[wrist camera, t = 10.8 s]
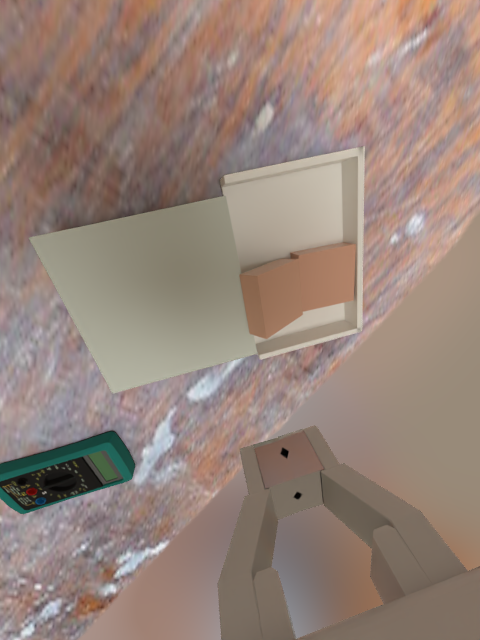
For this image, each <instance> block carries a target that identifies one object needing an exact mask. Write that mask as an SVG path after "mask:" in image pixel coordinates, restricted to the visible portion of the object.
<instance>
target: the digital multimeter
mask: <svg viewBox="0 0 480 640" xmlns="http://www.w3.org/2000/svg"><path fill="white" fill-rule="evenodd" d="M58 463H59V464H58ZM48 466H49V467H48ZM134 469H135V464H134V462H133V459H132V457H131V455H130V453H129V451H128V449H127V448H126V446H125V445H124V443H123V442H122V441H121V439H120V438H119V437H118V435H117V434H116V433H115V432H113V431H111V432H107V433H104V434H101V435H98V436H95V437H92V438H89V439H86V440H83V441H80V442H77V443H74V444H70V445H67V446H64V447H61V448H58V449H54V450H51V451H47V452H43V453H40V454H36V455H33V456H29V457H26V458H22V459H18V460H14V461H10V462H6V463H2V464H0V498H1V499H2V500H3V501H4V502H5V503H6V504H7V505H8V506H9V507H11V508H12V509H14V510H15V511H17V512H19V513H20V514H25V513H29V512H32V511H35V510H38V509H41V508H43V507H47V506H50V505H53V504H56V503H59V502H62V501H65V500H68V499H71V498H74V497H77V496H81V495H84V494H87V493H90V492H94V491H97V490H100V489H104V488H107V487H110V486H114V485H117V484H121V483H124V482H127V481H129V480H131V479H132V477H133V473H134Z"/></svg>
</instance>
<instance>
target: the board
mask: <svg viewBox="0 0 480 640" xmlns="http://www.w3.org/2000/svg"><path fill="white" fill-rule="evenodd" d="M29 240H30V241H31V243H32V245H33V247H34V249H35V251H36V253H37V254H38V256H39V258H40V260H41V262H42V264H43V266H44V267H45V269H46V271H47V273H48V275H49V277H50V279H51V280H52V282H53V284H54V286H55V288H56V290H57V292H58V293H59V295H60V297H61V299H62V301H63V303H64V304H65V306H66V308H67V310H68V312H69V314H70V316H71V317H72V319H73V321H74V323H75V325H76V327H77V329H78V330H79V332H80V334H81V336H82V338H83V340H84V342H85V343H86V345H87V347H88V349H89V351H90V353H91V355H92V356H93V358H94V360H95V362H96V364H97V366H98V368H99V369H100V371H101V373H102V375H103V377H104V379H105V380H106V382H107V384H108V386H109V388H110V390H111V392H112V393H116V392H120V391H124V390H127V389H131V388H135V387H138V386H142V385H145V384H149V383H153V382H156V381H160V380H164V379H167V378H171V377H175V376H178V375H182V374H185V373H189V372H193V371H196V370H200V369H204V368H207V367H211V366H215V365H218V364H222V363H225V362H229V361H233V360H236V359H240V358H244V357H247V356H251V355H255V354H257V349H256V344H255V339H254V335H251V334H250V333H249V327H248V321H247V316H246V310H245V304H244V299H243V293H242V287H241V282H240V276H239V275H240V274H241V269H240V264H239V259H238V254H237V249H236V244H235V239H234V234H233V229H232V224H231V219H230V214H229V209H228V204H227V199H226V196H221V197H216V198H212V199H207V200H202V201H198V202H193V203H188V204H184V205H179V206H174V207H170V208H165V209H160V210H156V211H151V212H146V213H142V214H137V215H132V216H128V217H123V218H118V219H114V220H109V221H104V222H100V223H95V224H90V225H86V226H81V227H76V228H72V229H67V230H62V231H57V232H53V233H48V234H43V235H39V236H34V237H29Z"/></svg>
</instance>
